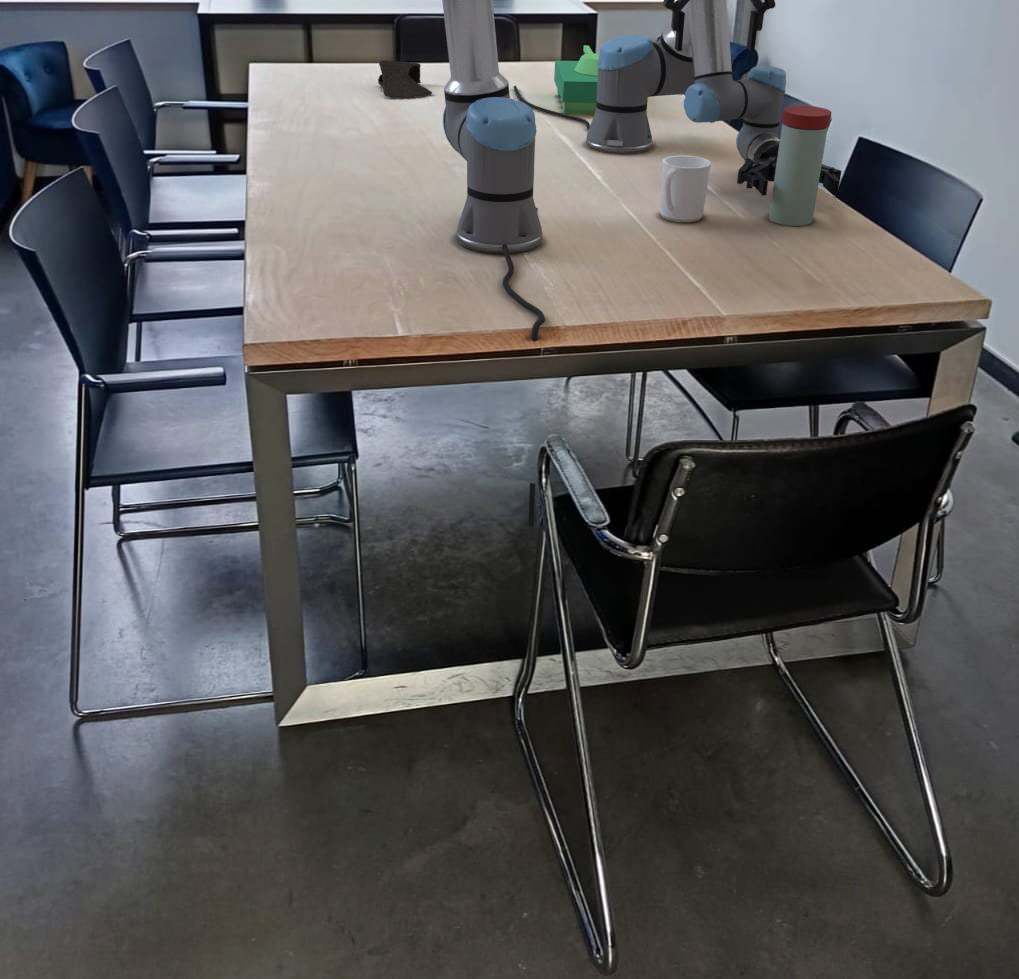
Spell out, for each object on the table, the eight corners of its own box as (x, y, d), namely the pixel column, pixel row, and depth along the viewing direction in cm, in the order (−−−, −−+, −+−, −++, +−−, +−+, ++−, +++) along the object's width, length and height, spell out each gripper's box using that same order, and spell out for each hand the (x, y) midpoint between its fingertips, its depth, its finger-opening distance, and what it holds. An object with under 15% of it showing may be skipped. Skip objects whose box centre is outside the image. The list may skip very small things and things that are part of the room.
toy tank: (617, 42, 302) (635, 66, 272) (613, 88, 309) (631, 117, 279) (553, 40, 301) (564, 65, 271) (551, 87, 308) (562, 116, 278)
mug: (673, 205, 215) (679, 152, 210) (713, 215, 210) (719, 161, 205) (642, 218, 208) (647, 164, 202) (683, 229, 203) (689, 173, 197)
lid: (793, 129, 196) (795, 116, 195) (774, 118, 203) (775, 106, 202) (837, 128, 198) (839, 115, 196) (817, 117, 205) (819, 104, 204)
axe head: (443, 87, 294) (392, 77, 287) (436, 115, 299) (385, 106, 292) (421, 62, 307) (371, 52, 300) (414, 89, 311) (365, 80, 304)
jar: (778, 226, 206) (795, 119, 195) (762, 213, 213) (777, 108, 202) (819, 225, 207) (837, 117, 197) (801, 211, 214) (818, 107, 204)
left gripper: (661, -78, 188) (651, 53, 199) (803, -77, 189) (786, 53, 200) (653, -81, 194) (644, 46, 205) (791, -81, 196) (774, 45, 207)
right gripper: (827, 176, 226) (862, 208, 207) (708, 176, 224) (732, 208, 206) (833, 139, 222) (869, 168, 204) (712, 139, 220) (737, 168, 202)
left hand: (714, 50), depth 203 cm, fingers open, 13 cm apart
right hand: (800, 188), depth 205 cm, fingers open, 13 cm apart
